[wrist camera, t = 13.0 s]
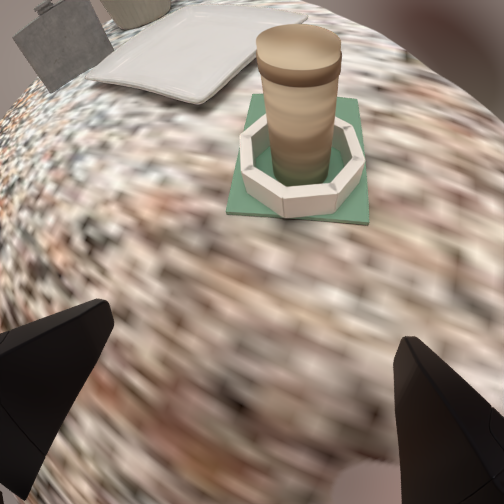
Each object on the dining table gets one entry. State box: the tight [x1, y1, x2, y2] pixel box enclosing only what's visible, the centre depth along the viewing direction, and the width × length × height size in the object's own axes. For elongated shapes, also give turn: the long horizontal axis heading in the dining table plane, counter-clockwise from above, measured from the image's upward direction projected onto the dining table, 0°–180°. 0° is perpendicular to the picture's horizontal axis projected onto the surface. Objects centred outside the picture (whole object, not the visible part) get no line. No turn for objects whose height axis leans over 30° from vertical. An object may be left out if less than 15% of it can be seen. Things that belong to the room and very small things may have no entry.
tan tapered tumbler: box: [256, 24, 342, 187], centre depth 20 cm, size 5×5×13 cm
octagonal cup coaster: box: [226, 94, 369, 225], centre depth 26 cm, size 18×15×4 cm
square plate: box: [85, 4, 308, 104], centre depth 37 cm, size 27×27×4 cm
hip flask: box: [13, 0, 114, 93], centre depth 34 cm, size 16×4×20 cm, turn 110°
